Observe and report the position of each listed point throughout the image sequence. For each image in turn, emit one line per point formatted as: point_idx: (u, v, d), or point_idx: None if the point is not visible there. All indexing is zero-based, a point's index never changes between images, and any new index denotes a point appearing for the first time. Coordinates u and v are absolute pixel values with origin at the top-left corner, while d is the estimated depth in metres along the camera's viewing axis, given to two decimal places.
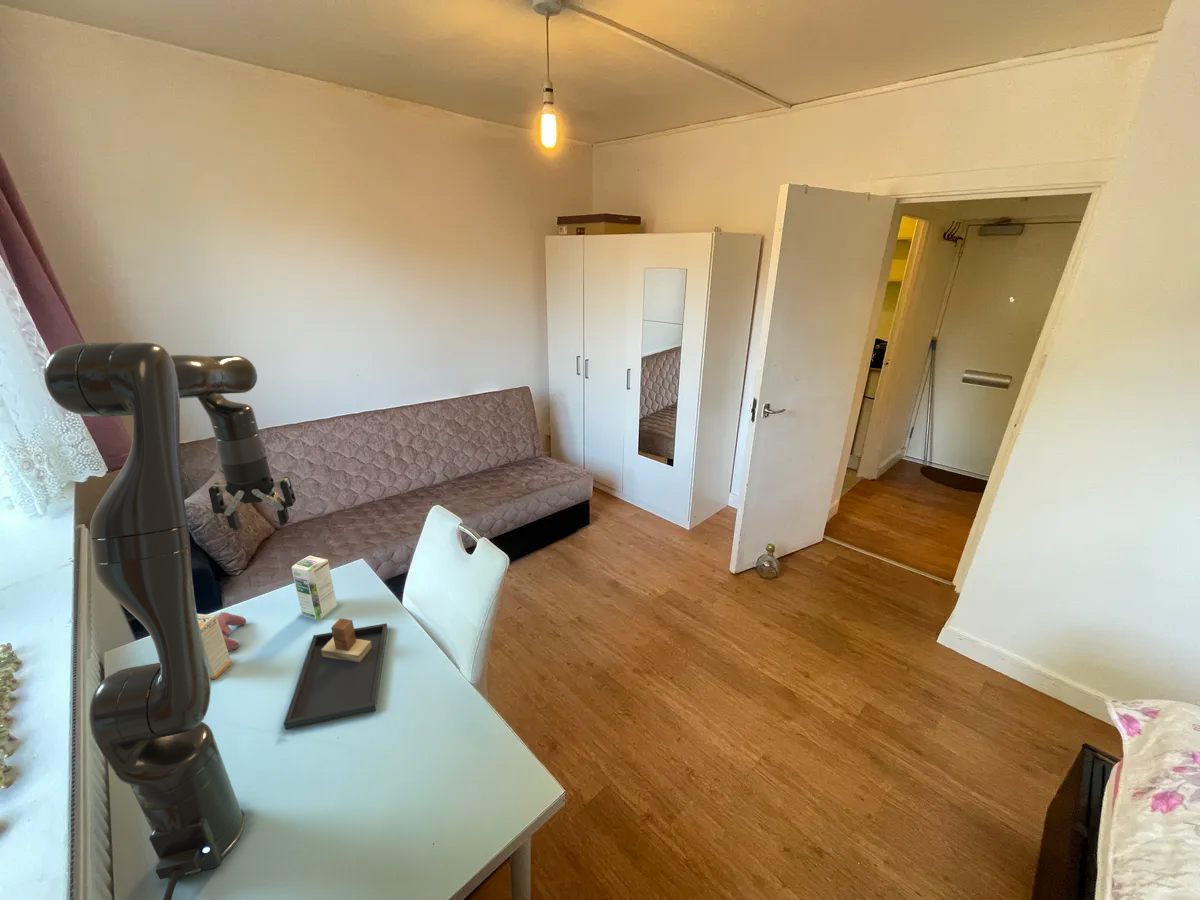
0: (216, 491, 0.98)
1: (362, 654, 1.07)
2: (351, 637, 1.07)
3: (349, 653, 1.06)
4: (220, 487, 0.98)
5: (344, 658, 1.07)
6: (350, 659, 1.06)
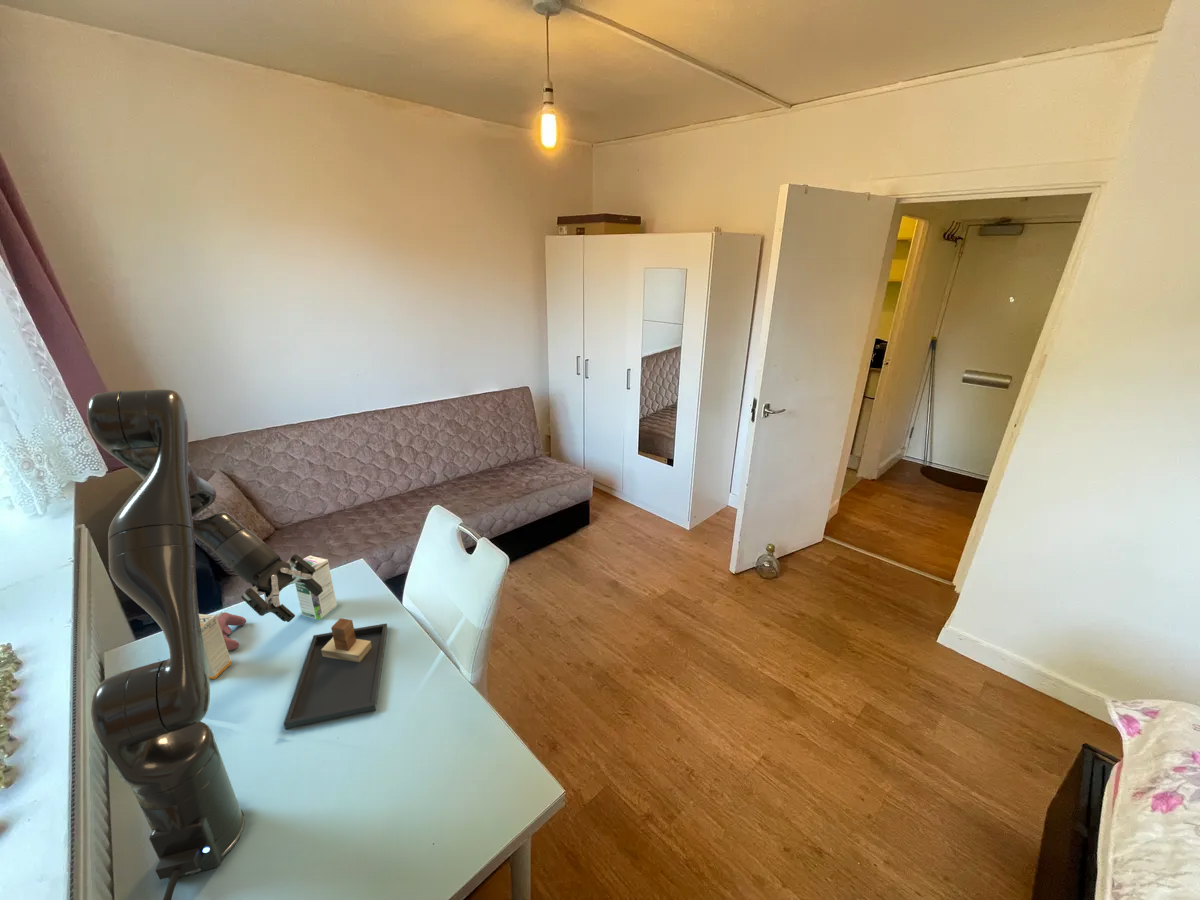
0: None
1: (362, 654, 1.07)
2: (351, 637, 1.07)
3: (349, 653, 1.06)
4: (252, 588, 0.99)
5: (344, 658, 1.07)
6: (350, 659, 1.06)
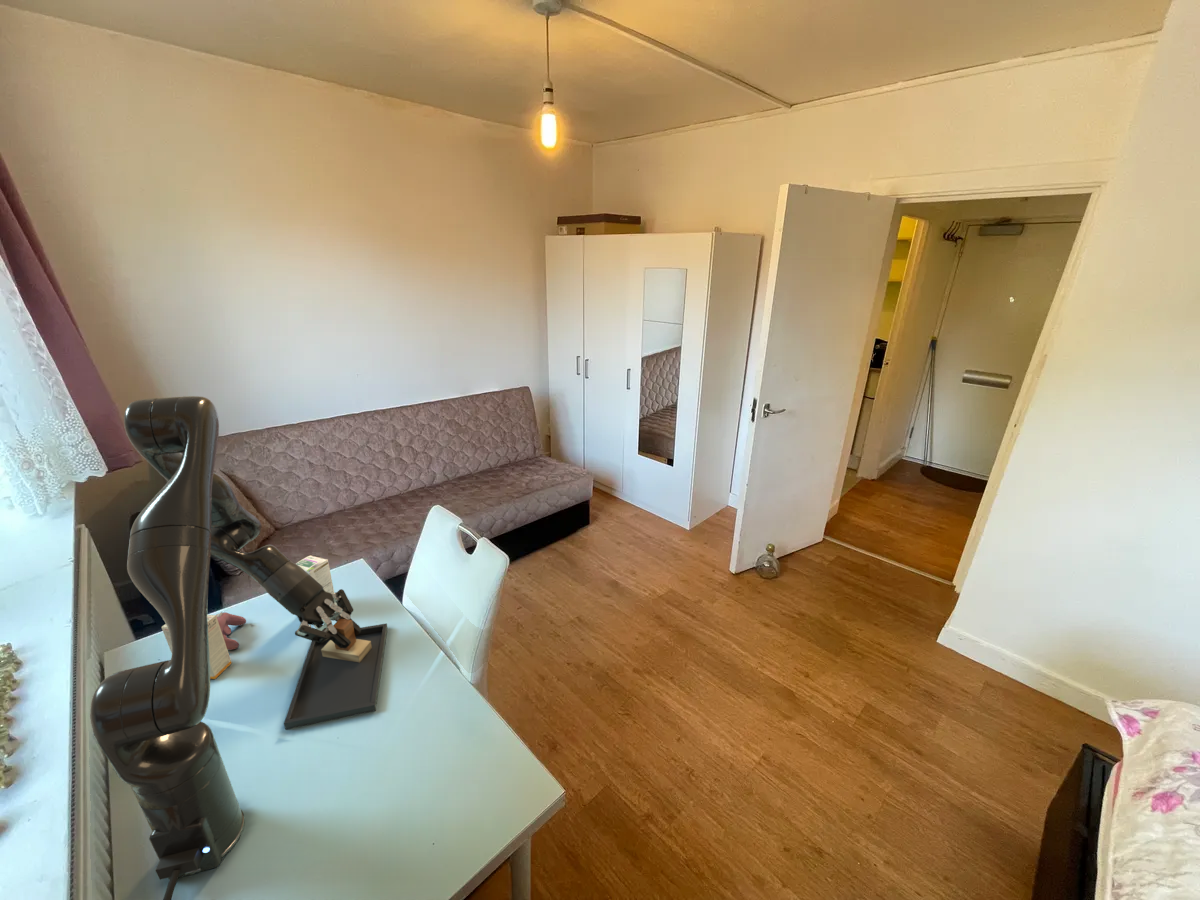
0: None
1: (362, 654, 1.07)
2: (351, 637, 1.07)
3: (349, 653, 1.06)
4: (303, 624, 1.01)
5: (344, 658, 1.07)
6: (350, 659, 1.06)
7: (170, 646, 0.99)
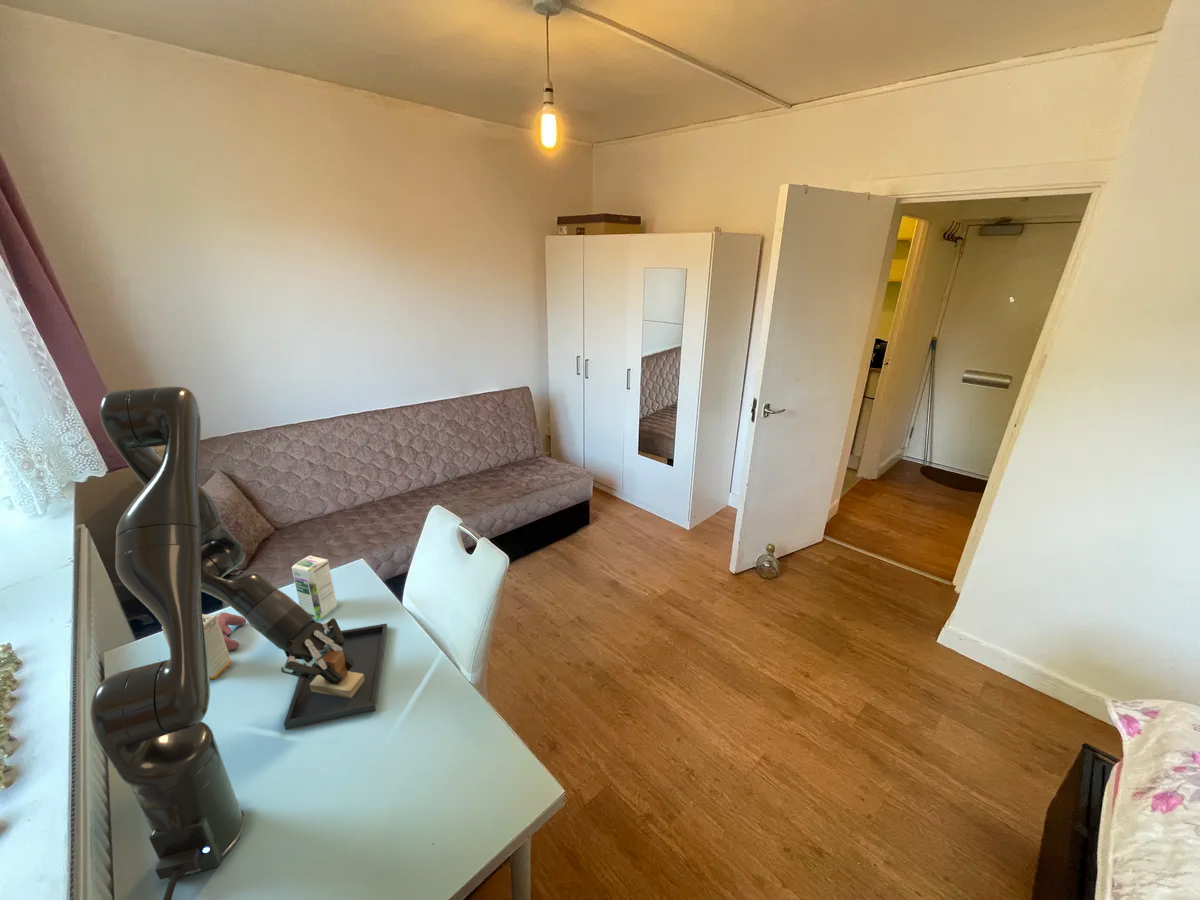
0: None
1: (354, 688, 0.99)
2: (342, 670, 0.99)
3: (340, 688, 0.98)
4: (290, 659, 0.92)
5: (334, 693, 0.98)
6: (341, 695, 0.98)
7: None
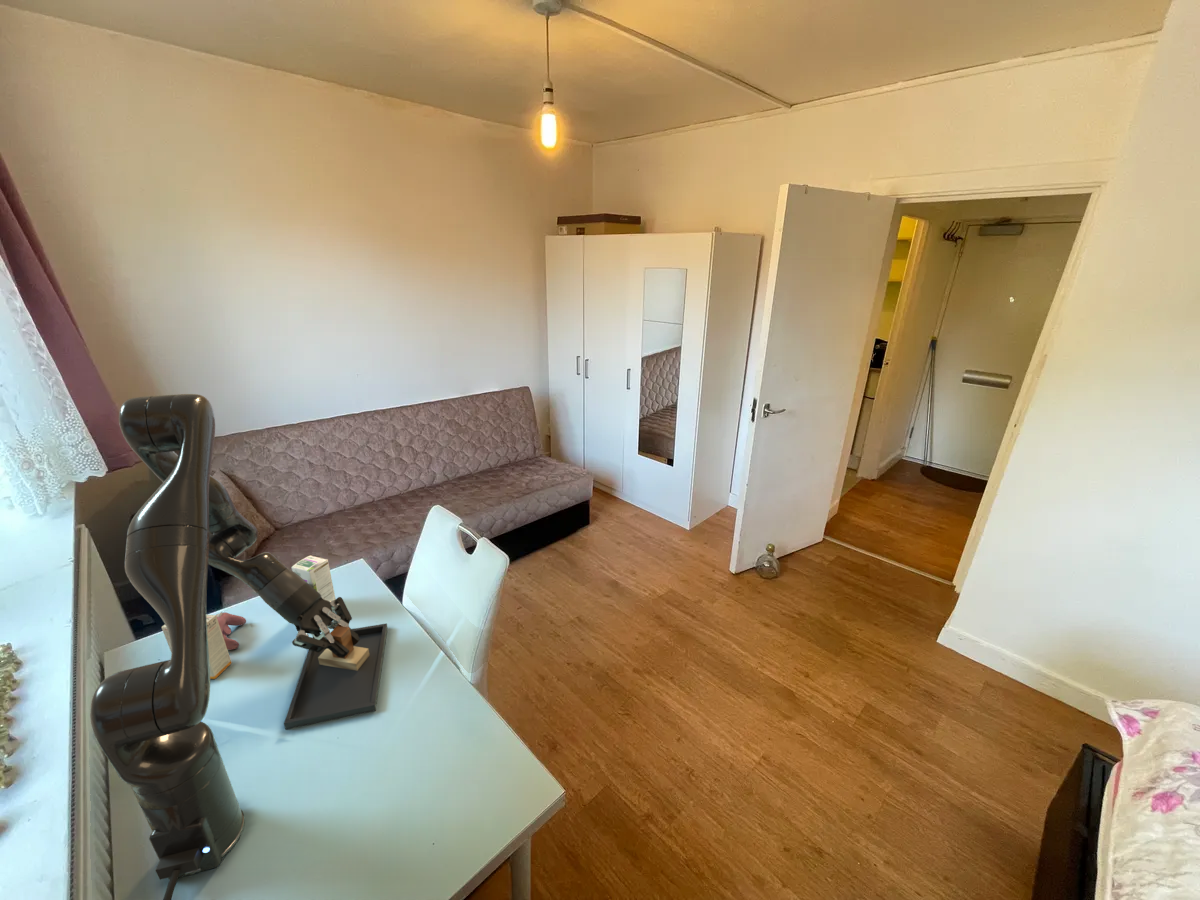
0: None
1: (360, 662, 1.05)
2: (348, 645, 1.05)
3: (346, 661, 1.04)
4: (300, 633, 0.99)
5: (341, 666, 1.05)
6: (347, 667, 1.04)
7: (170, 646, 0.99)
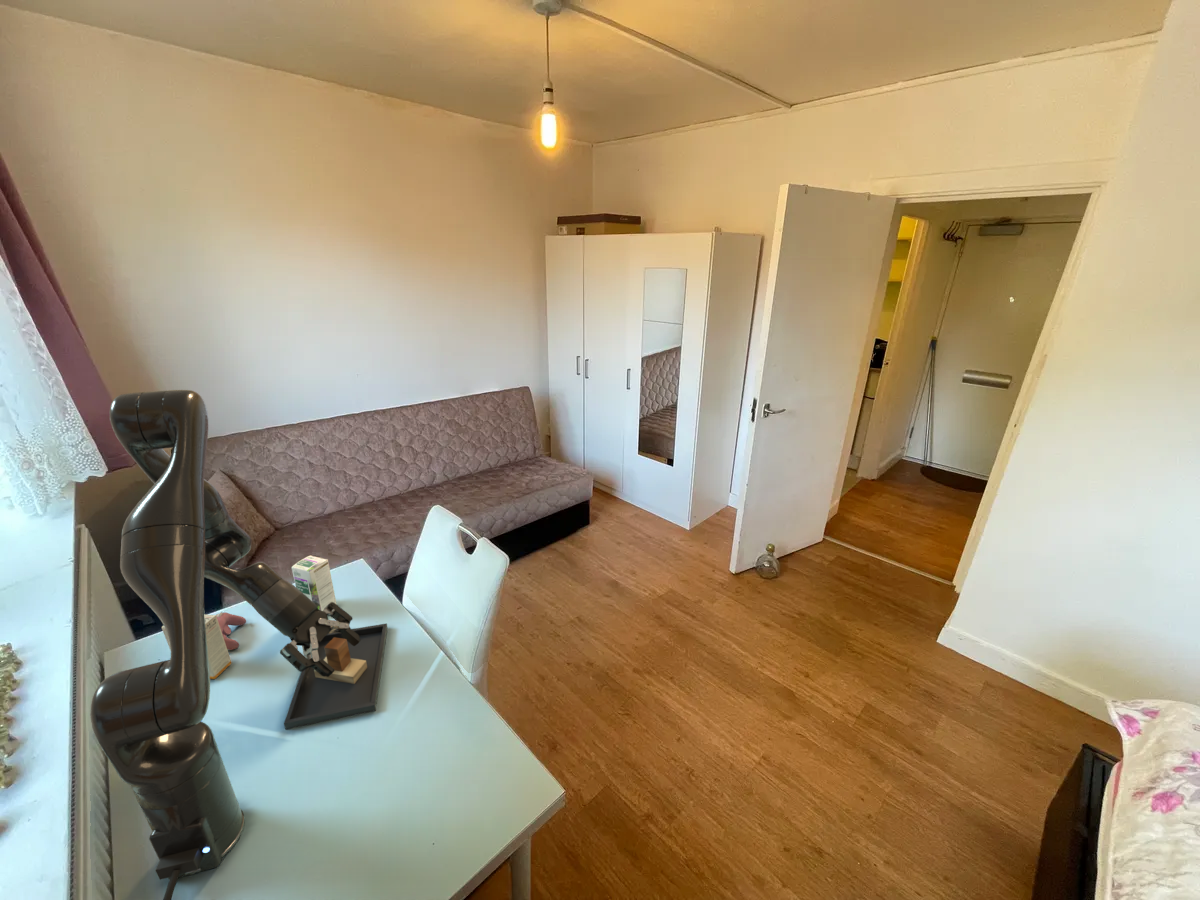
0: None
1: (357, 674, 1.02)
2: (345, 657, 1.02)
3: (343, 674, 1.01)
4: (291, 643, 0.95)
5: (338, 679, 1.01)
6: (344, 680, 1.01)
7: None
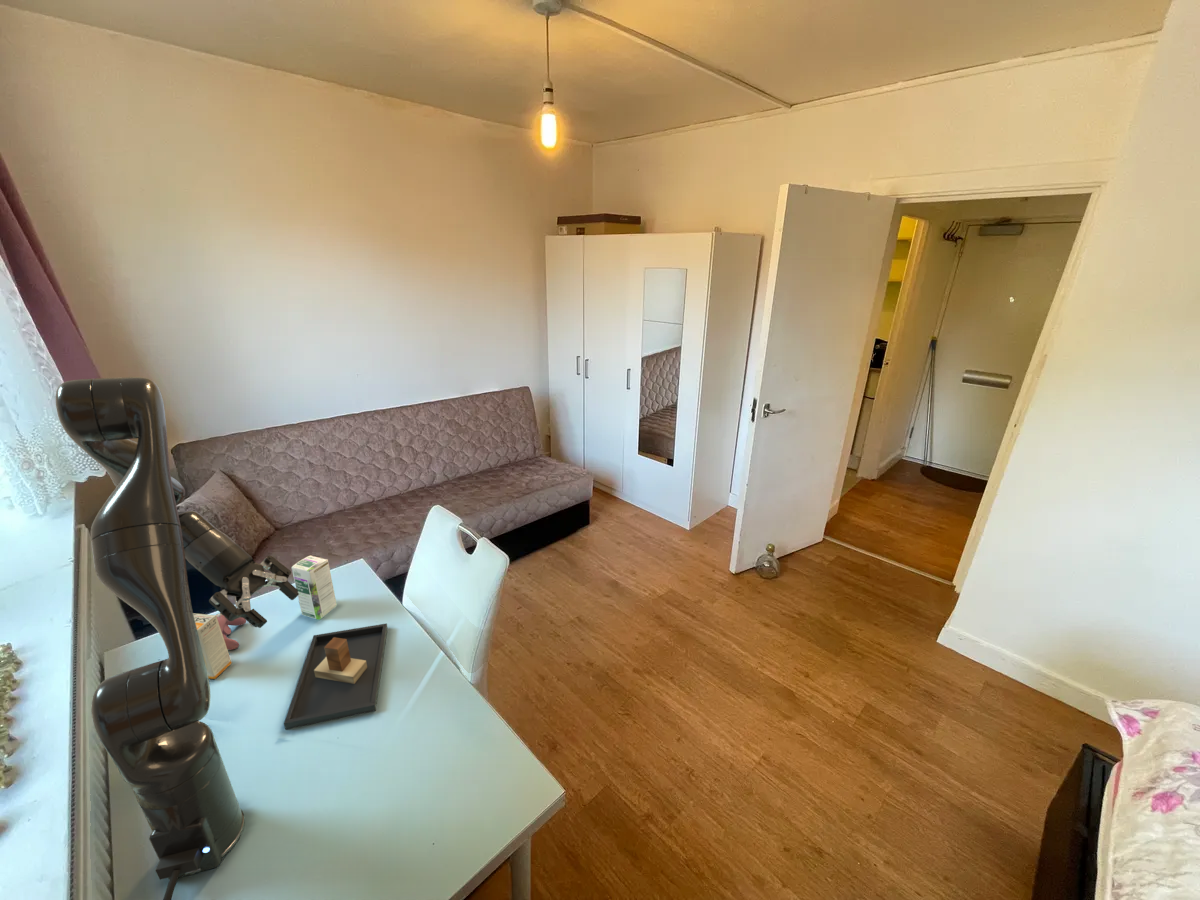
0: None
1: (357, 674, 1.02)
2: (345, 657, 1.02)
3: (343, 674, 1.01)
4: (221, 592, 0.94)
5: (338, 679, 1.01)
6: (344, 680, 1.01)
7: None
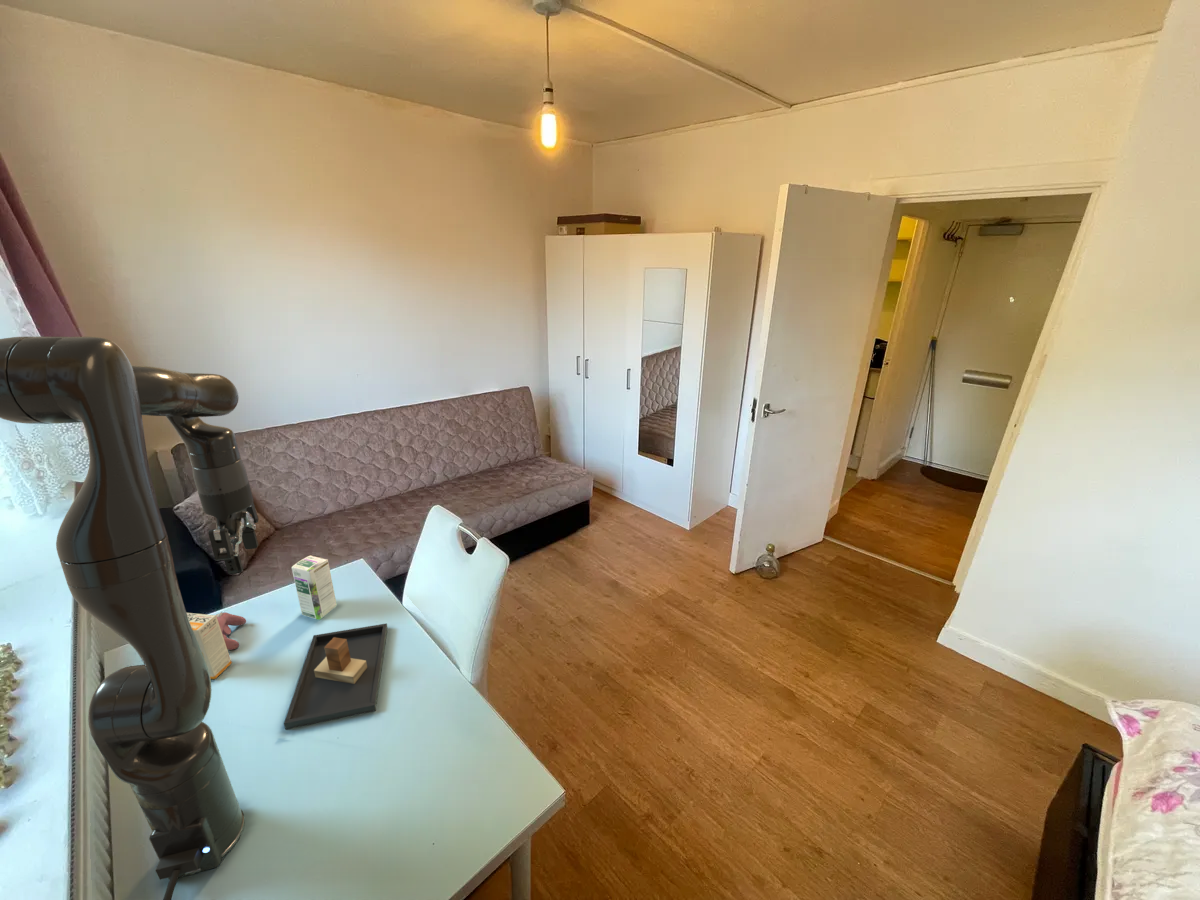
0: None
1: (357, 674, 1.02)
2: (345, 657, 1.02)
3: (343, 674, 1.01)
4: (223, 527, 0.86)
5: (338, 679, 1.01)
6: (344, 680, 1.01)
7: None
